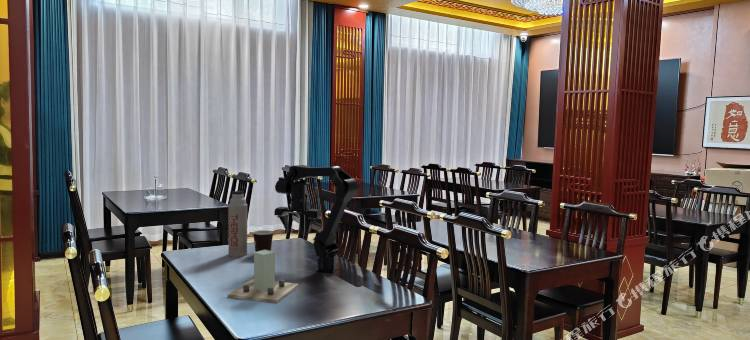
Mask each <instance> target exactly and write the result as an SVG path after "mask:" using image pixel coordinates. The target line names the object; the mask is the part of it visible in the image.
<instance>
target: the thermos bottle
mask: <svg viewBox="0 0 750 340" xmlns="http://www.w3.org/2000/svg"><path fill="white" fill-rule="evenodd" d="M231 194H232V195H231V198H230V199H229V203H228V206H227V207H228V209H227V210H228V218H227V219H228V221H227V222H228V223H227V224H228V236H227V237H228V240H227V241H228V249H227V250H228V256H229V257H231V258H232V257H234V258H238V257H239V258H240V257H245V256H247V255H248V203H247V201H246V198H245V197H244V196H245V195H244V194H245V193H244V191H243V190H236V191H235V190H234V191H231Z"/></svg>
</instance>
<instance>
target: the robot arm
mask: <svg viewBox="0 0 750 340" xmlns="http://www.w3.org/2000/svg"><path fill="white" fill-rule="evenodd" d="M312 177H313V178H314V177H329V178H330V179H331V182H332V185H333V186H334V187H335V188H336V189H335V191H334V192H335V193H334V194H335V199H334V200H335V201H334V203H333V205H332V207H331V210H330V212H329V214H328V217H327V220H326V222H325V224H324V227H323V229H320V230H317V231H316V232H315V235H314V237H313V239H312V240H313V242H312V243H313V244H312V245H313V247H314V248H313V249H314V251H315V253H316V255H315V256H316V257H318V258H317V272H323V273H334V272H335V271H336V270H337V269H338V267H337V255H339V253H340V250H341V249H340V247H339V246H338V245H337V243H336V239H337V238H336V237H337V236H336V232H337V229H338V227H339V224H340V222H341V219H342V217H343V215H344V213H345V210H346V208H347V206H348V203H349V202H350V201H351V200H352V199H353V198H354V197H355V196H356V194H357V192H358V191H359V186H360V185H358V184H359V183H358V182H357V180H356V179H354V178H353V177H352V176H351V175H350V174H348V173H347V172H346V171H344V170H343V169H342V168H341V167H340V166H338V165H336V166H335V165H334V166H320V167H319V166H316V167H313V166H309V165H305V164H297V165H291V166H290V167H289V169H288V171H287V173H286V175H285V177H284V176H283V177H282V176H281V177H280V176H279V177H278V180H277V181H276V183H275V185H274V190H275V192H276V193H277V194H282V195H290V198H289V201H290V208H289V207H288V206H278V207H276V208H275V209H274V211H273V212H274V214H273V215H274V216H277V218H279V219H280V222H281V224H282V225H283V227H284V230H285V233H288V232H289V217H290V215H297V216H298V215H301V216H307V218H306V234H307V235H309V234H310V233H311V229H312V226H313V224H314V222H315V220H317V219H318V218H320V217H322V211H321V209H318V208H311V209H310V207H311V203H310V202H309V201H307V197H306V186H310V182H308V181H307V179H308V178H312Z"/></svg>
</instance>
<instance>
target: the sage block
mask: <svg viewBox="0 0 750 340" xmlns="http://www.w3.org/2000/svg"><path fill="white" fill-rule="evenodd" d="M253 279H254V289H255V290H258V291H262V292H266V291H268V288H274V289H275V281H276V280H275V279H276V252H275V251H273V250H271V251H269V250H262V251H258V252H255V251H254V252H253Z"/></svg>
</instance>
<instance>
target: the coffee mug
mask: <svg viewBox="0 0 750 340" xmlns="http://www.w3.org/2000/svg"><path fill="white" fill-rule="evenodd" d="M252 235H253V243H254V250H255V251H254V252H258V251H262V250H269V251H272V243H273V237H274V231H273V230H265V229H264V230H254V231H253V232H252Z"/></svg>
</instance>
